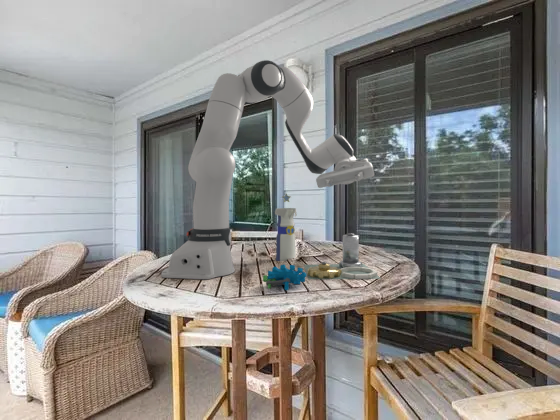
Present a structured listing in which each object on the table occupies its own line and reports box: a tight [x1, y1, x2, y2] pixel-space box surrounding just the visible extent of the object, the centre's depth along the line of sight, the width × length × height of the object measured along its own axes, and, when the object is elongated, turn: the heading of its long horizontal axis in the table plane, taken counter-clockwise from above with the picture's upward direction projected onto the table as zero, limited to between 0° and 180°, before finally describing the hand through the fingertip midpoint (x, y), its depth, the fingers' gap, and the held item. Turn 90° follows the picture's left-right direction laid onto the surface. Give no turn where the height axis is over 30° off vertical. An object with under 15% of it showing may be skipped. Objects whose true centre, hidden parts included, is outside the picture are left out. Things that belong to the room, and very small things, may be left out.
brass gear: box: [306, 261, 341, 280], centre depth 96 cm, size 10×10×4 cm
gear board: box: [303, 263, 382, 280], centre depth 100 cm, size 20×19×1 cm
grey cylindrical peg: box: [338, 232, 363, 268], centre depth 105 cm, size 7×7×11 cm
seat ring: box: [341, 267, 378, 280], centre depth 96 cm, size 10×10×1 cm
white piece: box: [274, 193, 298, 262], centre depth 124 cm, size 8×9×25 cm
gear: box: [262, 263, 307, 291], centre depth 83 cm, size 11×6×10 cm
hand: (343, 181), depth 111 cm, fingers open, 8 cm apart
